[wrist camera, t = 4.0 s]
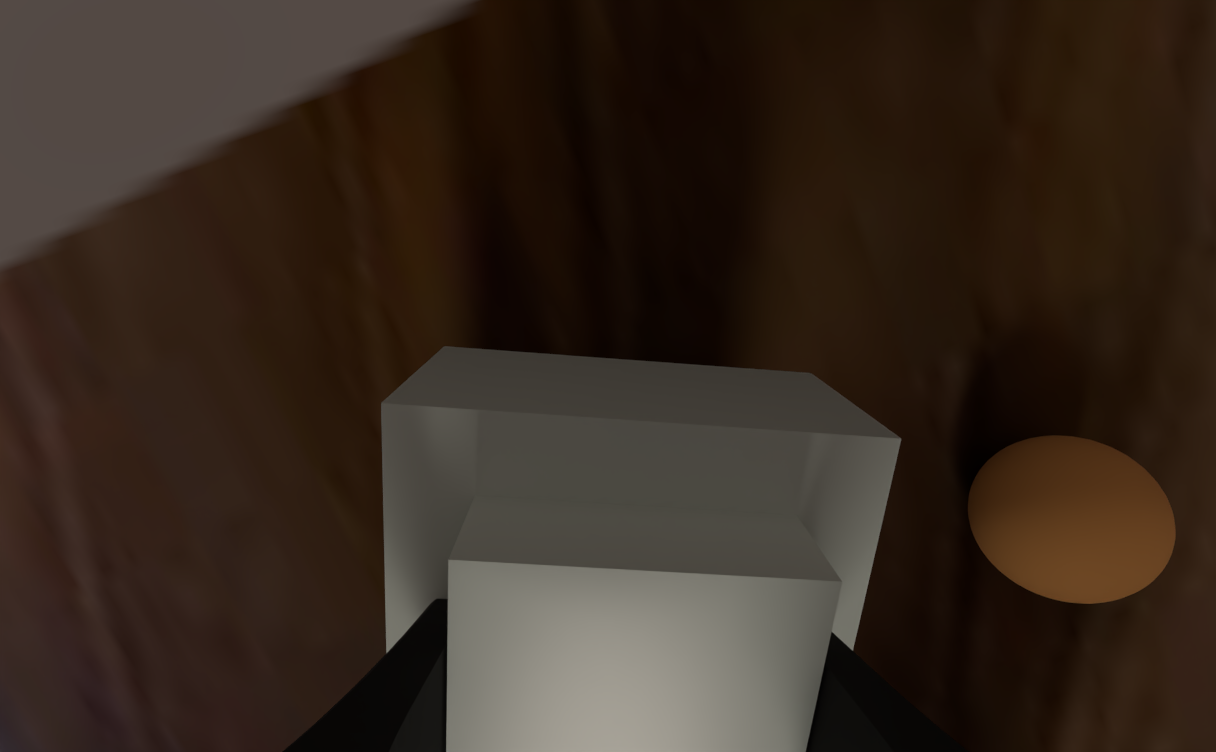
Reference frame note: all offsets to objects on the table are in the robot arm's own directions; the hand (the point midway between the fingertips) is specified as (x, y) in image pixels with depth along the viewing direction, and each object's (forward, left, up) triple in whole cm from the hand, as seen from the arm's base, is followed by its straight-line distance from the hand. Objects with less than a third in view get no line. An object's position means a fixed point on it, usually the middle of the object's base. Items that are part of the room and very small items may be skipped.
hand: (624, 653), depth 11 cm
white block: (0, 0, -5) cm, 5 cm away
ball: (+9, -11, -7) cm, 15 cm away
